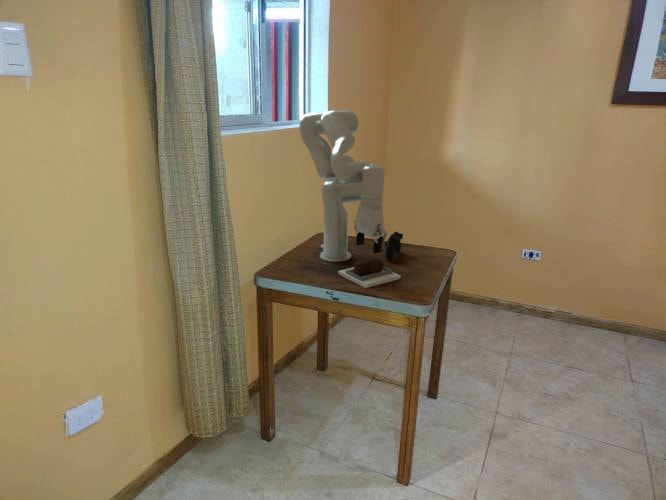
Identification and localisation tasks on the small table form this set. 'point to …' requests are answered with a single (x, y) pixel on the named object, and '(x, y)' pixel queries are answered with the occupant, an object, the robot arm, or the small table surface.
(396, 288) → the small table surface
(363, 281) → the baseplate
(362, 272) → the brick
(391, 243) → the gaming controller
